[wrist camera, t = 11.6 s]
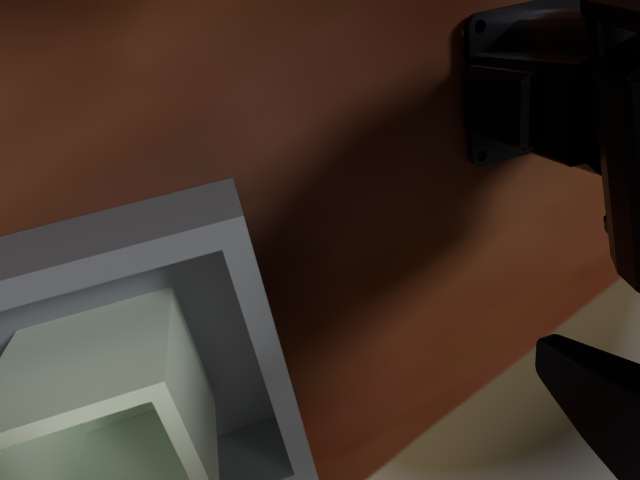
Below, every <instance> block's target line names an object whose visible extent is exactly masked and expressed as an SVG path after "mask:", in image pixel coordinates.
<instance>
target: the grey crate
mask: <svg viewBox="0 0 640 480" xmlns="http://www.w3.org/2000/svg"><path fill="white" fill-rule="evenodd" d="M169 287H173V290H174V292H175V295H176V297H177V300H178V303H179V305H180V308H181V310H182V313H183V315H184V318H185V320H186V323H187V325H188V328H189V331H190V333H191V336H192V338H193V341H194V343H195V346H196V348H197V351H198V353H199V356H200V358H201V361H202V364H203V366H204V369H205V371H206V374H207V376H208V379H209V381H210V384H211V386H212V389H213V391H214V398H215V415H216V432H217V449H218V466H219V480H319V479H318V476H317V472H316V469H315V465H314V461H313V458H312V454H311V451H310V447H309V444H308V440H307V436H306V433H305V429H304V426H303V422H302V419H301V415H300V412H299V408H298V405H297V401H296V397H295V394H294V390H293V387H292V383H291V380H290V376H289V373H288V369H287V366H286V362H285V359H284V355H283V352H282V348H281V345H280V341H279V338H278V334H277V331H276V327H275V324H274V320H273V317H272V313H271V310H270V306H269V303H268V299H267V296H266V292H265V288H264V285H263V281H262V278H261V274H260V271H259V267H258V264H257V260H256V257H255V253H254V250H253V246H252V243H251V239H250V236H249V232H248V229H247V225H246V222H245V218H244V215H243V211H242V208H241V204H240V201H239V197H238V194H237V190H236V186H235V183H234V179H233V178H229V179H225V180H221V181H217V182H213V183H209V184H205V185H201V186H197V187H193V188H190V189H186V190H182V191H178V192H174V193H170V194H166V195H162V196H158V197H154V198H150V199H146V200H142V201H138V202H135V203H131V204H127V205H123V206H119V207H115V208H111V209H107V210H103V211H99V212H95V213H91V214H87V215H83V216H80V217H76V218H72V219H68V220H64V221H60V222H56V223H52V224H48V225H44V226H40V227H36V228H32V229H28V230H25V231H21V232H17V233H13V234H9V235H5V236H1V237H0V357H1V355H2V354H3V352H4V350H5V349H6V347H7V345H8V344H9V342H10V340H11V339H12V337H13V335H14V334H15V332H16V331H17V330H20V329H24V328H27V327H31V326H34V325H38V324H42V323H45V322H49V321H52V320H56V319H59V318H63V317H66V316H70V315H73V314H77V313H80V312H84V311H88V310H91V309H95V308H98V307H102V306H105V305H109V304H112V303H116V302H119V301H123V300H126V299H130V298H133V297H137V296H141V295H144V294H148V293H151V292H155V291H158V290H162V289H165V288H169Z"/></svg>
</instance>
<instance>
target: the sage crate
mask: <svg viewBox="0 0 640 480" xmlns="http://www.w3.org/2000/svg"><path fill="white" fill-rule="evenodd" d="M0 480H219V466H218V449H217V432H216V415H215V398H214V391H213V389H212V386H211V384H210V381H209V379H208V376H207V374H206V371H205V369H204V366H203V364H202V361H201V358H200V356H199V353H198V351H197V348H196V346H195V343H194V341H193V338H192V336H191V333H190V331H189V328H188V325H187V323H186V320H185V318H184V315H183V313H182V310H181V308H180V305H179V303H178V300H177V297H176V295H175V292H174V290H173V287H169V288H165V289H162V290H158V291H155V292H151V293H148V294H144V295H141V296H137V297H133V298H130V299H126V300H123V301H119V302H116V303H112V304H109V305H105V306H102V307H98V308H95V309H91V310H88V311H84V312H80V313H77V314H73V315H70V316H66V317H63V318H59V319H56V320H52V321H49V322H45V323H42V324H38V325H34V326H31V327H27V328H24V329H20V330H17V331H16V332H15V334H14V335H13V337H12V339H11V340H10V342H9V344H8V345H7V347H6V349H5V350H4V352H3V354H2V355H1V357H0Z"/></svg>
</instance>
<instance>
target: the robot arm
mask: <svg viewBox="0 0 640 480" xmlns="http://www.w3.org/2000/svg"><path fill="white" fill-rule="evenodd" d="M477 21H479V22H480V29H479V31H478V32H476V31H475V28H474V27H475V24H476V22H477ZM464 50H465V70H464V71H463V102H464V127H465V129H466V130H467V147H468V159H469V161H470V162H471V163H472V164H474V165H477V166H485V165H488V164H492V163H496V162H499V161H503V160H507V159H510V158H514V157H518V156H521V155H525V154H529V153H532V154H535V155H538V156H541V157H544V158H546V159H549V160H552V161H555V162H558V163H561V164H563V165H566V166H569V167H573V166H574V167H577V168H580V169H583V170H586V171H589V172H592V173H594V174H597V175H600V176H602V181H603V191H604V200H605V209H606V215H605V216H604V218H603V219H604V228H605V231H606V232H607V233H608V236H609V246H610V255H611V257H612V260H613V263H614V265H615V268H616V271H617V273H618V274H619V275H620V276H621V277H622V278H623V279H624V280H625V281H626V282H627V283H628V284H629V285H630V286H632V287H633V288H634V289H635V290H636V291H637V292H639V293H640V0H534V1H529V2H524V3H520V4H515V5H511V6H506V7H502V8H497V9H492V10H488V11H483V12H479V13H474V14H472V15H470V16H469V17H468V18H467V20H466V22H465V24H464ZM480 151H482V156H481V157H480V158H479V159H478V158H477V156H478V153H479V152H480ZM535 367H536V371H537V374H538V376H539V377H540V379H541V380H542V382H543V383H544V385H545V386H546V387H547V389H548V390H549V392H550V393H551V395H552V396H553V397H554V399H555V400H556V402H557V403H558V404H559V406H560V407H561V409H562V410H563V412H564V413H565V414H566V416H567V417H568V419H569V420H570V421H571V423H572V424H573V426H574V427H575V429H576V430H577V431H578V432H579V434H580V435H581V437H582V438H583V439H584V440H585V441H586V443H587V444H588V445H589V446H590V447H591V449H592V450H593V451H594V452H595V453H596V454H597V456H598V457H599V458H600V459H601V460H602V461H603V463H604V464H605V465H606V466H607V467H608V468H609V470H610V471H611V472H612V473H613V474H614V476H615V477H616V478H617V479H618V480H640V364H638V363H636V362H633V361H630V360H627V359H625V358H622V357H619V356H616V355H614V354H611V353H608V352H605V351H602V350H600V349H597V348H594V347H591V346H589V345H585V344H583V343H580V342H578V341H575V340H572V339H569V338H566V337H563V336H561V335H558V334H551V335H548V336H545V337H543V338H540V339H538V341H537V344H536V361H535Z"/></svg>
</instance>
